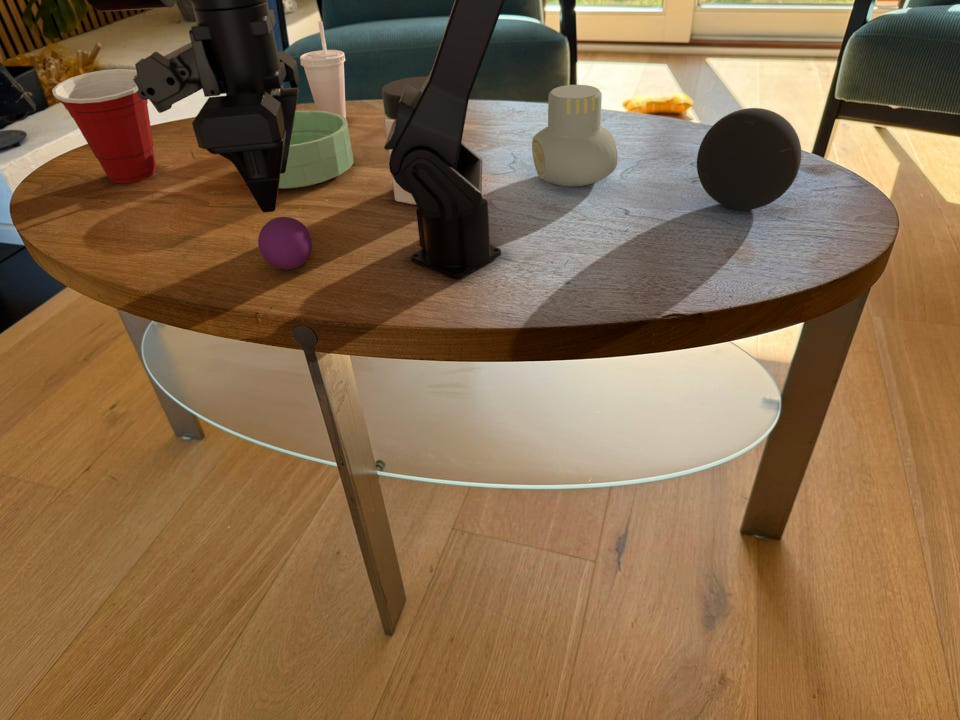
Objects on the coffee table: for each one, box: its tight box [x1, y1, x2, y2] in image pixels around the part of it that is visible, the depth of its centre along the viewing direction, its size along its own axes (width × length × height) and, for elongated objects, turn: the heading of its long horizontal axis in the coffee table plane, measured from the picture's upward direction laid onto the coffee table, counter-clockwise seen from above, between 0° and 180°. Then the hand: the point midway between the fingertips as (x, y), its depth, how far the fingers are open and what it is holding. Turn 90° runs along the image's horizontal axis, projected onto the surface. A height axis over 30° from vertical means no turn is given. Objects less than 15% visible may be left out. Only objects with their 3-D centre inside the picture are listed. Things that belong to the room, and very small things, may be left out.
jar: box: [381, 75, 429, 206], centre depth 79 cm, size 9×8×12 cm
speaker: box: [696, 107, 802, 211], centre depth 73 cm, size 10×10×10 cm
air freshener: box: [531, 84, 619, 188], centre depth 81 cm, size 11×8×10 cm
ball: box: [257, 216, 313, 270], centre depth 68 cm, size 5×5×5 cm
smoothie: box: [299, 20, 347, 119], centre depth 102 cm, size 6×6×14 cm
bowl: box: [238, 110, 355, 189], centre depth 89 cm, size 14×14×6 cm
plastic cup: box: [51, 68, 157, 184], centre depth 89 cm, size 11×11×12 cm
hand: (274, 191), depth 65 cm, fingers open, 9 cm apart
